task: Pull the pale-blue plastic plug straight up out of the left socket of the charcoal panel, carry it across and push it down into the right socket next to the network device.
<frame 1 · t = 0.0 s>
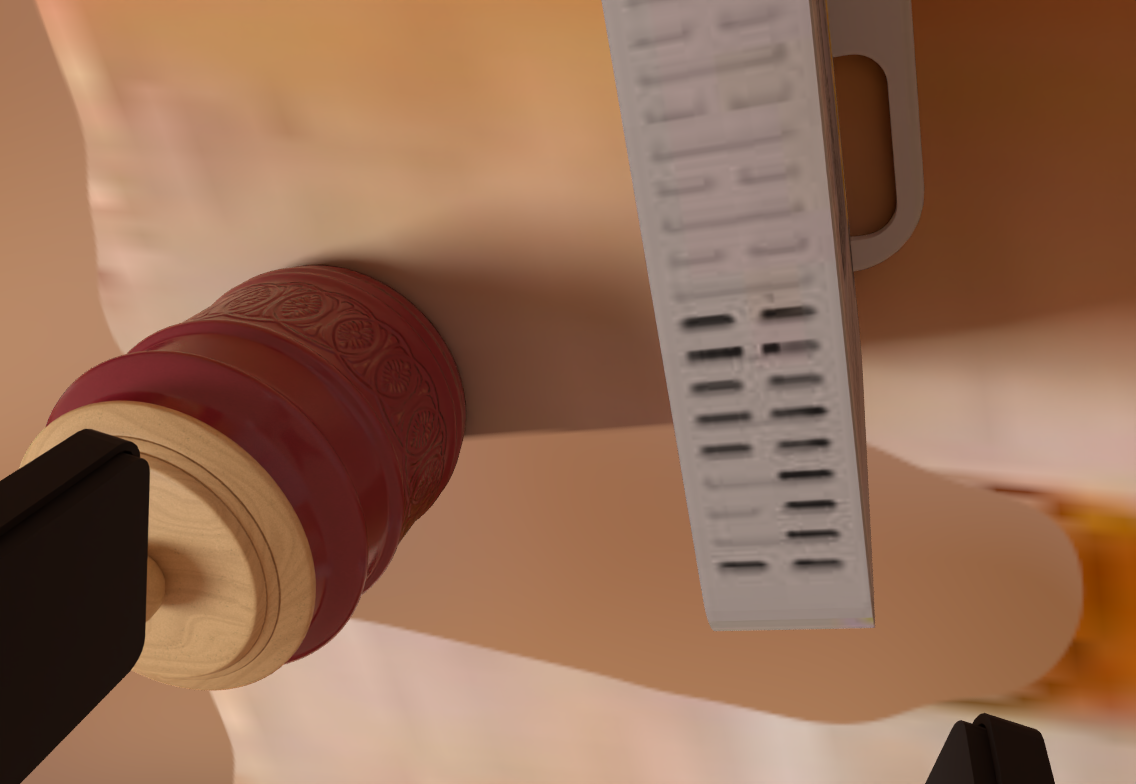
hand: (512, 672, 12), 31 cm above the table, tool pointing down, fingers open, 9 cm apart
network device: (782, 21, 37), on the table
canister: (341, 392, 48), on the table
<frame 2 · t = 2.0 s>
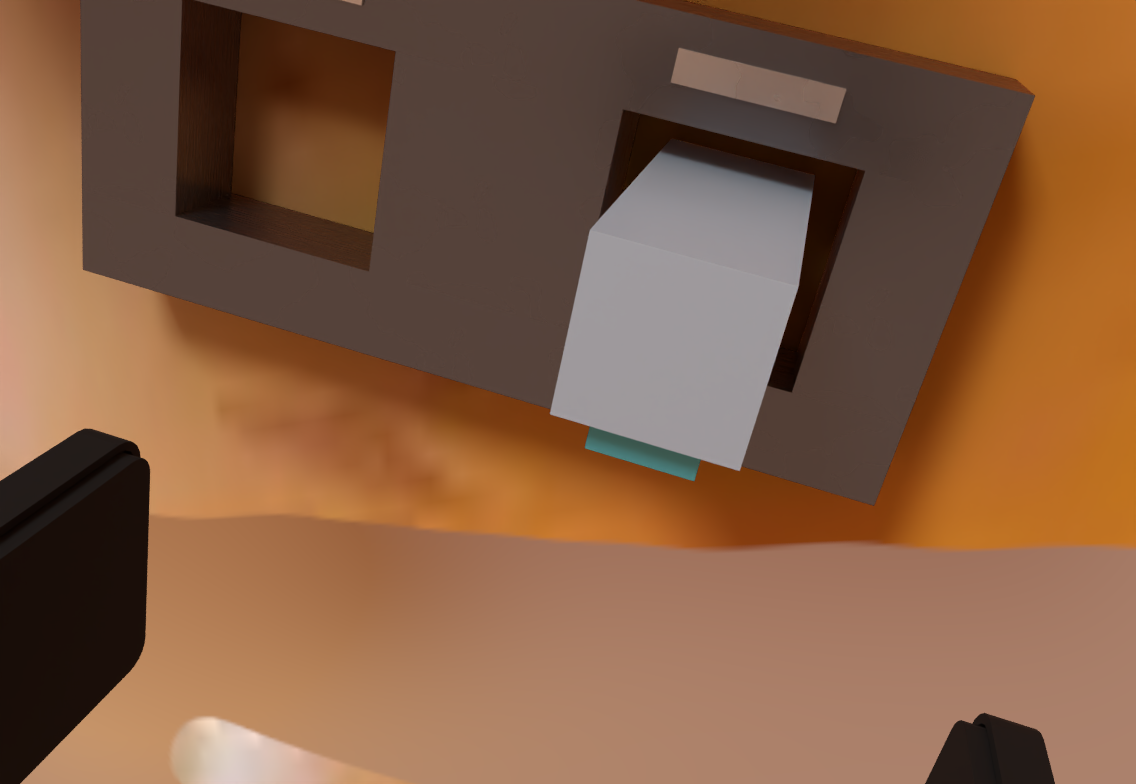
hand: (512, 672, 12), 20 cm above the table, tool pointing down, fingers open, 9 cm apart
panel: (520, 172, 30), on the table
plug: (723, 226, 29), resting in panel
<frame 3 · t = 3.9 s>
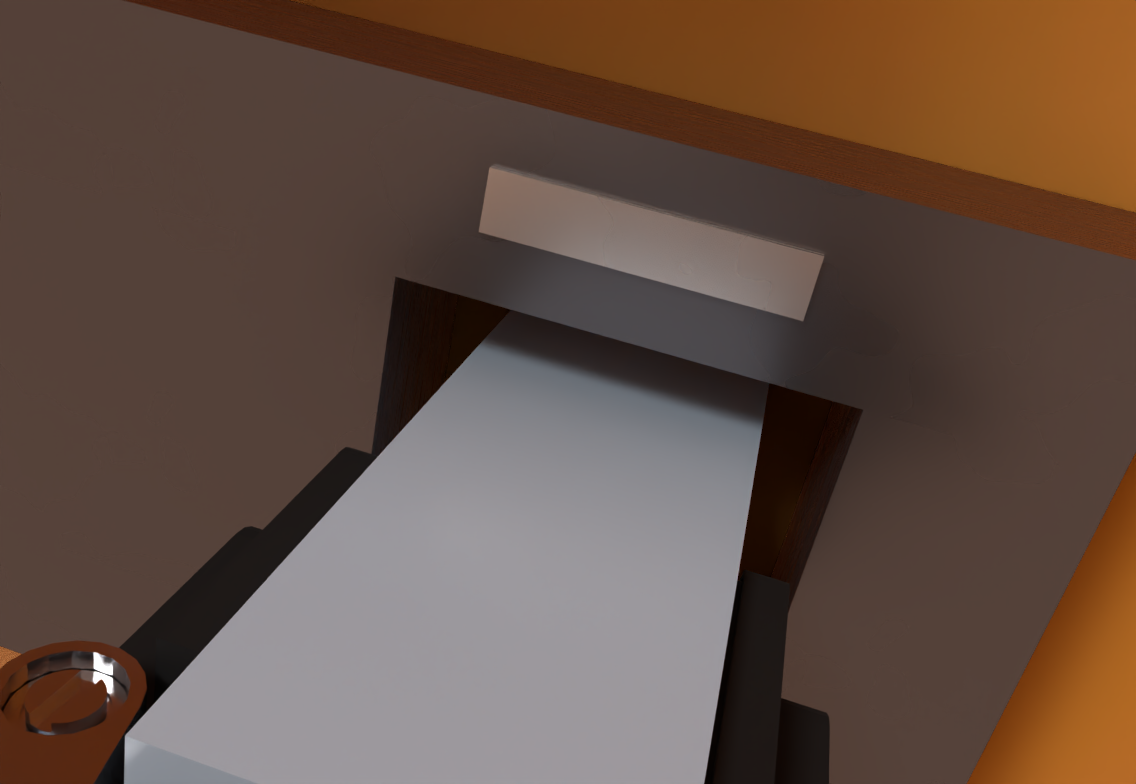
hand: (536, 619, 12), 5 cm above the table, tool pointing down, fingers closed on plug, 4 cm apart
panel: (276, 343, 17), on the table
plug: (615, 445, 17), resting in panel, touching gripper
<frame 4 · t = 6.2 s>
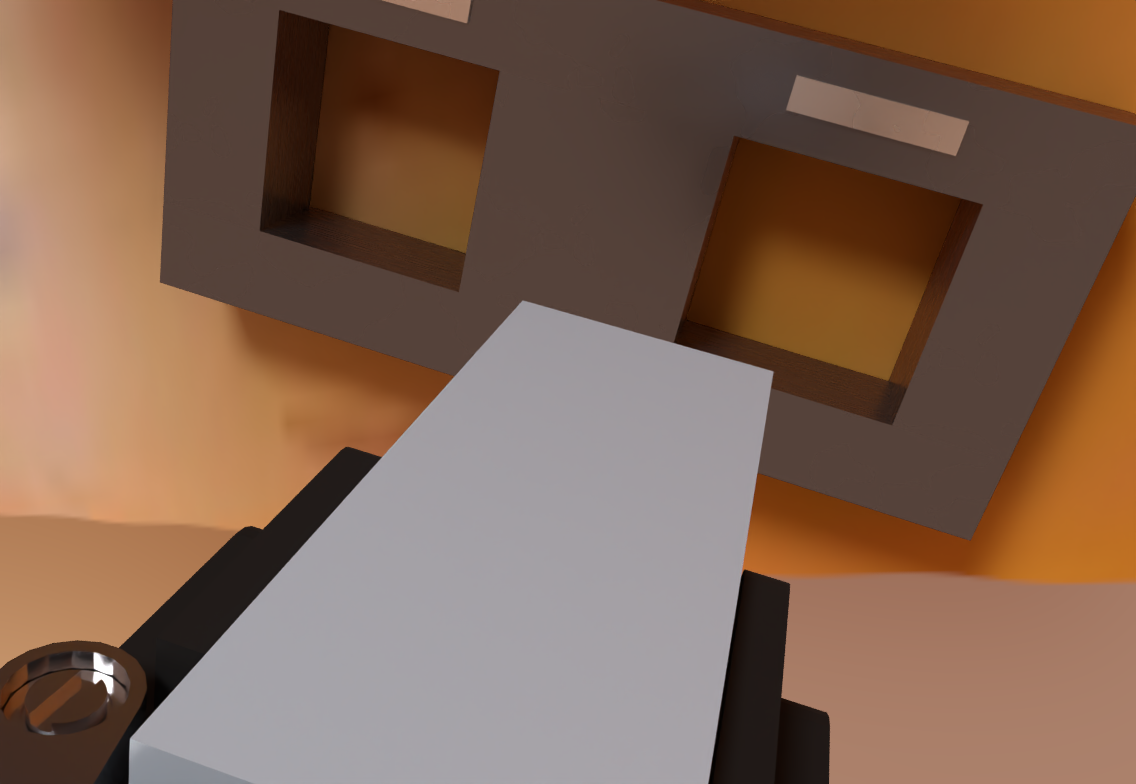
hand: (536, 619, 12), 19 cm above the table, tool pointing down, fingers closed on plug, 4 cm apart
panel: (611, 193, 29), on the table
plug: (617, 447, 17), point 14 cm above the table, touching gripper
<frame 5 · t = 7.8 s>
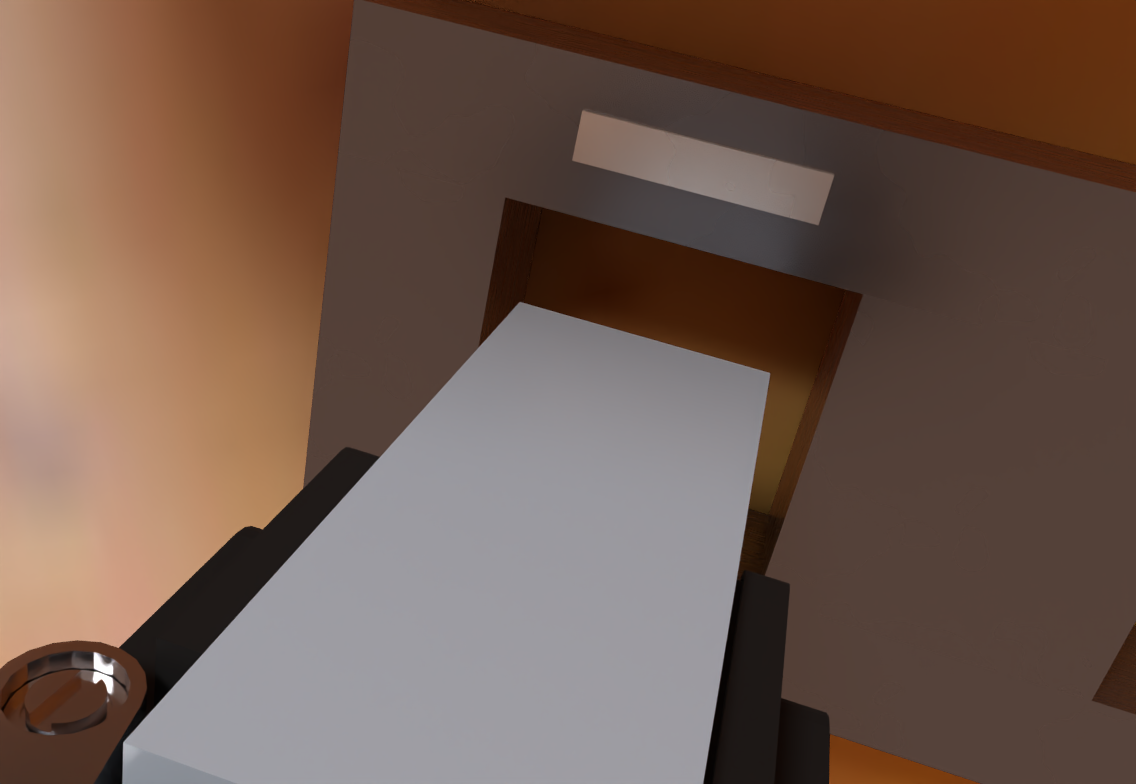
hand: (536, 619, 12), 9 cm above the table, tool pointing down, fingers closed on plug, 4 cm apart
panel: (964, 432, 20), on the table
plug: (614, 448, 17), point 5 cm above the table, touching gripper
when the fingers open (6 cm above the table, at t = 8.8 s): plug stays where it is, resting in panel.
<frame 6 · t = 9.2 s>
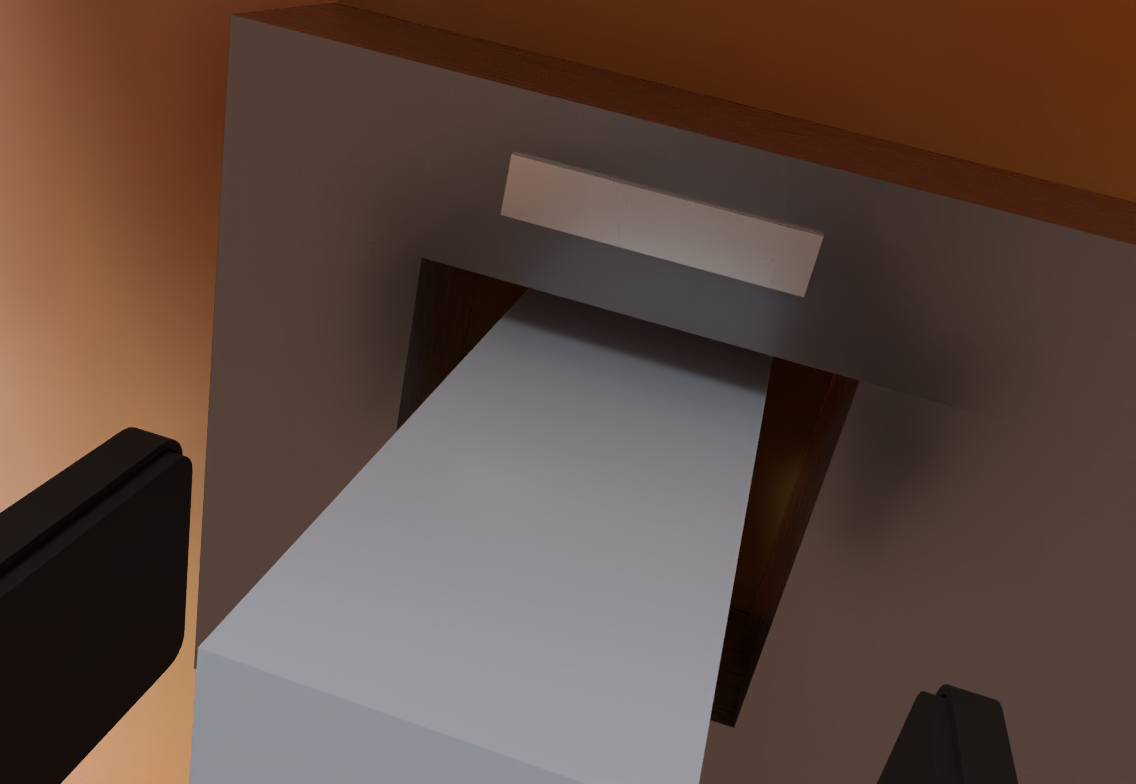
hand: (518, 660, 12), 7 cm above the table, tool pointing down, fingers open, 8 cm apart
panel: (980, 525, 17), on the table
plug: (625, 419, 18), resting in panel
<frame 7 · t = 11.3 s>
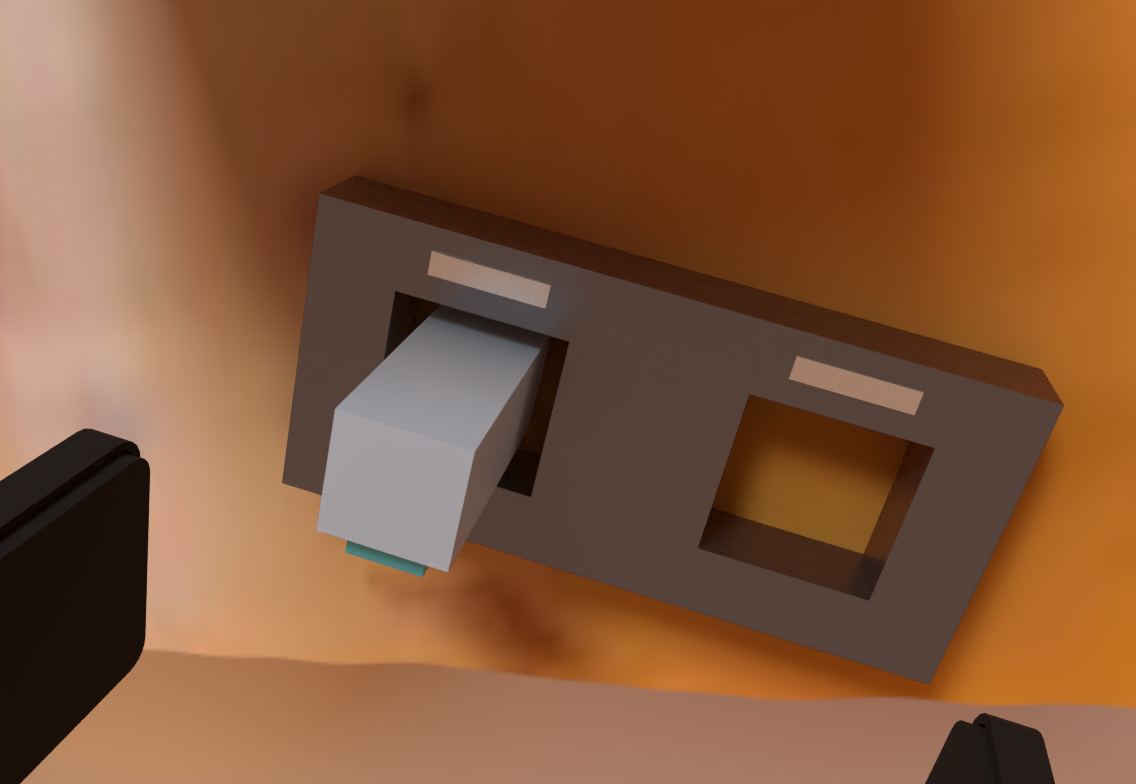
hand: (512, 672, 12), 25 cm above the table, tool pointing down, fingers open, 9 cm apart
panel: (646, 412, 37), on the table
plug: (488, 364, 38), resting in panel
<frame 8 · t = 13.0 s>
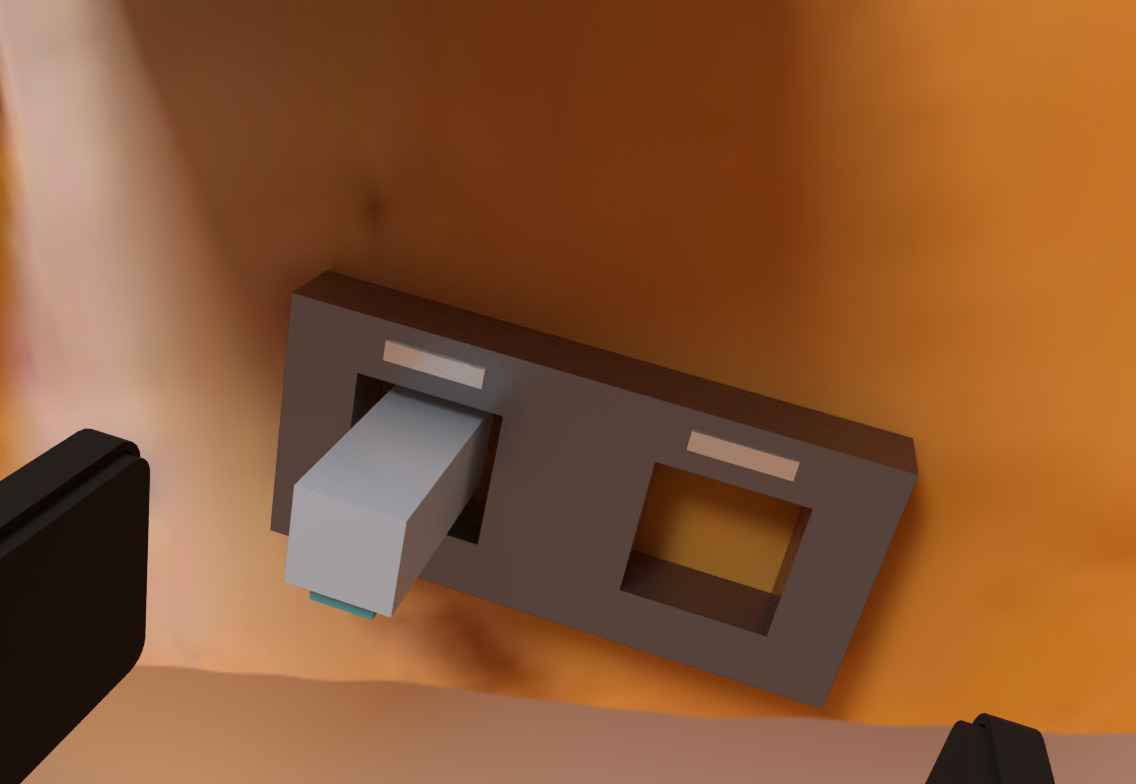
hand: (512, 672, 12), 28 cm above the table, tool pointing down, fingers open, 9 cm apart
panel: (579, 470, 43), on the table
plug: (444, 428, 44), resting in panel
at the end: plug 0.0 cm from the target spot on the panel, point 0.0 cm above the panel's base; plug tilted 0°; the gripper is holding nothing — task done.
